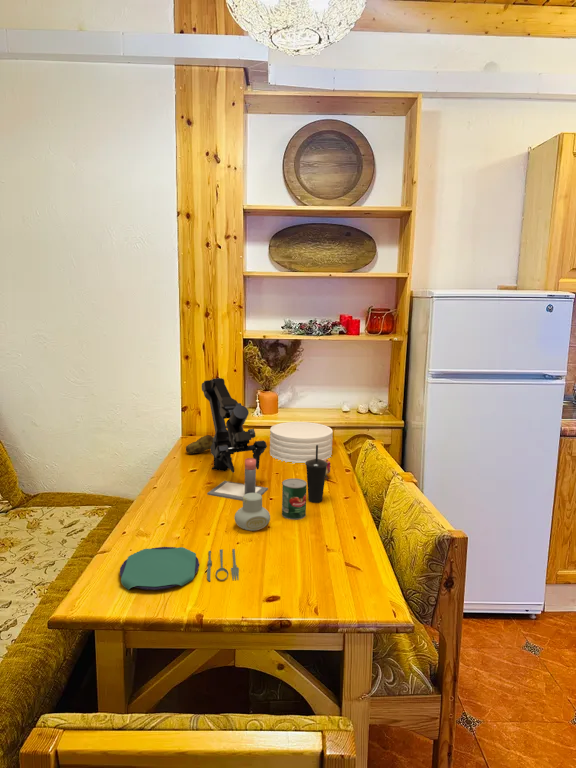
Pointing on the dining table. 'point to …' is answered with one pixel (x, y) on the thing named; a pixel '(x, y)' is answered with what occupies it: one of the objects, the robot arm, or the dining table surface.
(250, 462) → the marker
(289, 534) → the dining table surface
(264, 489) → the writing mat
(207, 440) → the potato
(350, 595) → the dining table surface
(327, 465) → the flower
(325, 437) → the plate stack
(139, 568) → the cutlery set
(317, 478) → the drinking cup
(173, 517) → the dining table surface
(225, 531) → the dining table surface
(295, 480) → the canned tomato
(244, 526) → the air freshener
